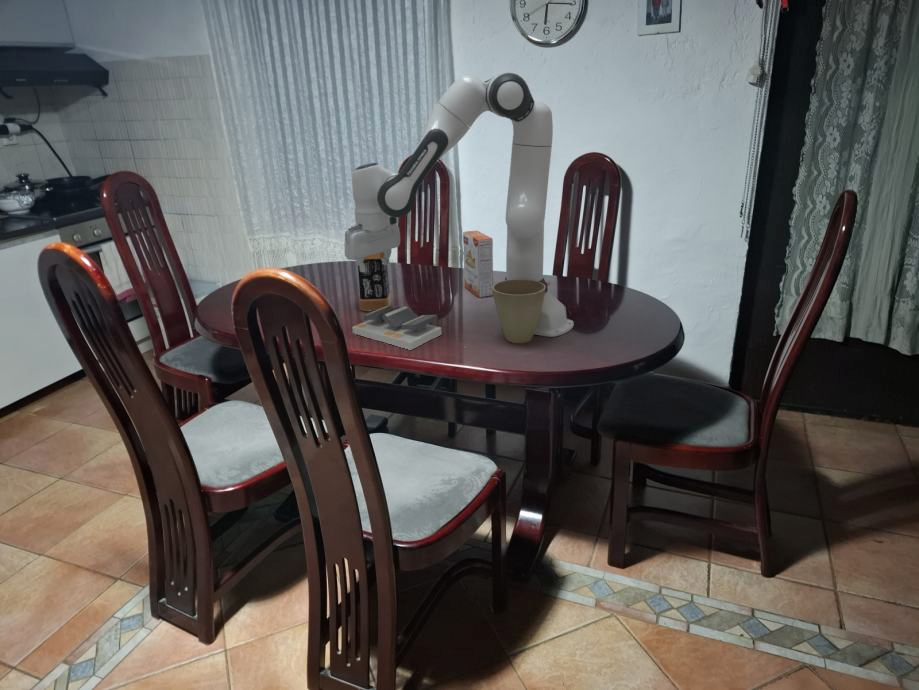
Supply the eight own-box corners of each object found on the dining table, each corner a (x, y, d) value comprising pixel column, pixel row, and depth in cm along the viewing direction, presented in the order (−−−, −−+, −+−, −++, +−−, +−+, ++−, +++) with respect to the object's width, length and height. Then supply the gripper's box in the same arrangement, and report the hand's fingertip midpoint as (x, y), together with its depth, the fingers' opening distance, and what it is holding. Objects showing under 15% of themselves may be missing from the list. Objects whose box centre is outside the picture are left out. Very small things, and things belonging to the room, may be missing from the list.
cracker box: (463, 287, 228) (462, 231, 220) (478, 285, 230) (477, 229, 222) (477, 298, 216) (476, 239, 208) (493, 296, 218) (493, 237, 210)
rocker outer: (400, 310, 192) (399, 306, 191) (377, 319, 184) (376, 315, 184) (387, 310, 195) (386, 306, 195) (364, 319, 188) (363, 315, 187)
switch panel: (441, 335, 184) (441, 323, 183) (410, 350, 174) (410, 338, 173) (384, 321, 197) (384, 310, 196) (353, 334, 187) (351, 323, 186)
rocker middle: (416, 320, 189) (418, 316, 188) (394, 330, 181) (396, 326, 180) (404, 308, 190) (406, 304, 189) (381, 317, 183) (383, 314, 182)
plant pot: (501, 327, 189) (501, 277, 183) (549, 332, 184) (551, 281, 178) (485, 345, 176) (485, 291, 170) (536, 351, 171) (537, 296, 165)
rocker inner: (438, 319, 183) (437, 314, 183) (416, 329, 176) (415, 324, 175) (423, 319, 187) (422, 314, 186) (401, 329, 179) (400, 324, 179)
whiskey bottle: (389, 311, 206) (382, 214, 194) (359, 312, 206) (350, 215, 194) (391, 301, 216) (385, 208, 204) (363, 302, 216) (355, 209, 204)
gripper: (352, 229, 171) (357, 277, 176) (402, 216, 186) (405, 261, 191) (336, 227, 174) (342, 274, 179) (386, 214, 189) (390, 259, 194)
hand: (375, 267), depth 185 cm, fingers open, 8 cm apart
